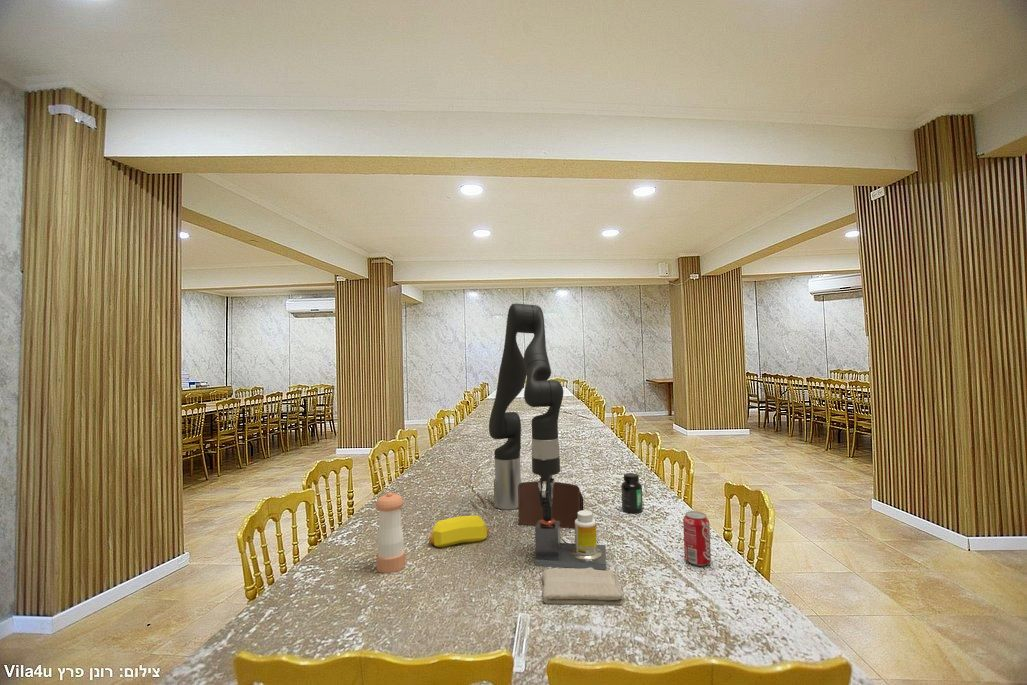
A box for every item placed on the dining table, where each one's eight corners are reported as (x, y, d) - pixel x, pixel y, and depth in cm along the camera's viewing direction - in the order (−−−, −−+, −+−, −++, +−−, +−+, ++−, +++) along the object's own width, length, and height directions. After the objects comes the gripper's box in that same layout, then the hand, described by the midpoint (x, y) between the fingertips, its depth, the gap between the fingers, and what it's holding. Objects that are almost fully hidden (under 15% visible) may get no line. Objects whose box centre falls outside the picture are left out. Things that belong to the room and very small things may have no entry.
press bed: (534, 565, 116) (533, 532, 116) (540, 547, 126) (539, 516, 127) (606, 570, 112) (604, 535, 112) (605, 550, 123) (604, 519, 123)
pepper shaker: (379, 575, 113) (377, 498, 113) (374, 564, 119) (372, 491, 119) (408, 568, 116) (406, 493, 116) (401, 557, 122) (400, 486, 123)
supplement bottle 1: (601, 554, 117) (599, 514, 117) (582, 558, 115) (580, 517, 115) (590, 545, 122) (588, 507, 123) (571, 549, 120) (570, 510, 121)
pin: (540, 552, 119) (539, 522, 119) (542, 546, 123) (541, 516, 123) (555, 553, 118) (554, 522, 118) (556, 546, 122) (555, 517, 122)
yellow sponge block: (492, 541, 132) (486, 531, 139) (492, 518, 132) (485, 509, 139) (431, 551, 126) (427, 541, 133) (430, 527, 126) (426, 518, 133)
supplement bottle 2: (645, 513, 150) (643, 477, 150) (624, 514, 150) (623, 477, 150) (639, 506, 156) (638, 472, 157) (620, 507, 156) (618, 472, 157)
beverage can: (710, 557, 117) (708, 511, 117) (712, 569, 111) (710, 520, 111) (684, 555, 119) (682, 509, 119) (685, 565, 113) (683, 517, 113)
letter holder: (580, 529, 138) (579, 483, 139) (518, 525, 143) (516, 480, 144) (584, 517, 148) (582, 474, 148) (525, 514, 153) (524, 472, 153)
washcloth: (626, 607, 96) (625, 593, 96) (542, 607, 97) (541, 592, 98) (616, 579, 108) (616, 566, 108) (542, 579, 109) (541, 566, 109)
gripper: (535, 449, 128) (537, 510, 128) (527, 460, 115) (529, 528, 115) (561, 449, 127) (563, 511, 126) (557, 460, 114) (559, 530, 113)
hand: (547, 519), depth 121 cm, fingers closed
